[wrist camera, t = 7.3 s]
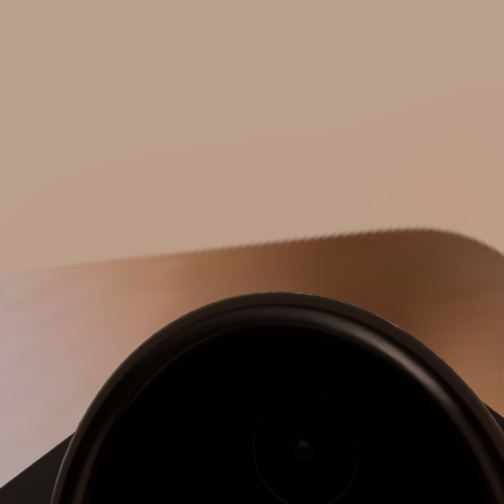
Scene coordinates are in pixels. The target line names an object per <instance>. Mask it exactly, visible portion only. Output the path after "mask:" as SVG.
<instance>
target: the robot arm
mask: <svg viewBox="0 0 504 504" xmlns="http://www.w3.org/2000/svg"><path fill="white" fill-rule="evenodd" d="M482 403H483V402H482ZM483 404H484V405H485V407H486V408H487V409H488V410H489V412H490V413H491V415H492V416H493V418H494V419H495V421H496V422H497V424H498V425H499V427H500V428H501V430H502V431H503V433H504V418H503V417H502V416H501V415H499V414H498V413H497V412H495V411H494V410H493V409H491V408H490V407H489V406H487V405H486V404H485V403H483ZM74 433H75V432H74ZM74 433H73V434H72V435H70V436H69V437H68V438H66V439H65V440H64V441H62V442H61V443H60V444H58V445H57V446H56V447H54V448H53V449H52V450H50V451H49V452H48V453H46V454H45V455H44V456H42V457H41V458H40V459H38V460H37V461H36V462H34V463H33V464H32V465H30V466H29V467H28V468H26V469H25V470H24V471H23V472H21V473H20V474H19V475H17V476H16V477H15V478H13V479H12V480H11V481H9V482H8V483H7V484H5V485H4V486H3V487H1V488H0V504H50V499H51V496H52V492H53V489H54V485H55V482H56V478H57V475H58V473H59V470H60V467H61V464H62V461H63V459H64V456H65V454H66V451H67V449H68V446H69V444H70V442H71V440H72V437H73V435H74Z"/></svg>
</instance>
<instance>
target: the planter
mask: <svg viewBox="0 0 504 504" xmlns="http://www.w3.org/2000/svg"><path fill="white" fill-rule="evenodd" d="M50 504H504V433H503V431H502V430H501V428H500V427H499V425H498V424H497V422H496V421H495V419H494V418H493V416H492V415H491V413H490V412H489V410H488V409H487V408H486V407H485V405H484V404H483V403H482V401H481V400H480V399H479V398H478V396H477V395H476V394H475V392H474V391H473V390H472V389H471V388H470V387H469V386H468V385H467V383H466V382H465V381H464V380H463V379H462V378H461V377H460V376H459V375H458V374H457V373H456V372H455V371H454V370H453V369H452V368H451V367H450V366H449V365H448V364H447V363H446V362H445V361H444V360H443V359H442V358H441V357H439V356H438V355H437V354H436V353H435V352H434V351H432V350H431V349H430V348H429V347H428V346H426V345H425V344H424V343H422V342H421V341H420V340H418V339H417V338H416V337H414V336H413V335H411V334H410V333H408V332H407V331H405V330H404V329H402V328H401V327H399V326H397V325H396V324H394V323H392V322H390V321H388V320H387V319H385V318H383V317H381V316H379V315H377V314H375V313H372V312H370V311H368V310H366V309H363V308H361V307H358V306H356V305H353V304H350V303H347V302H344V301H341V300H337V299H334V298H330V297H325V296H321V295H315V294H309V293H301V292H288V291H271V292H258V293H251V294H244V295H239V296H234V297H230V298H226V299H223V300H219V301H216V302H213V303H210V304H208V305H205V306H203V307H200V308H198V309H195V310H193V311H191V312H189V313H187V314H185V315H183V316H181V317H180V318H178V319H176V320H174V321H173V322H171V323H169V324H168V325H166V326H165V327H163V328H162V329H160V330H159V331H157V332H156V333H155V334H153V335H152V336H151V337H150V338H148V339H147V340H146V341H145V342H143V343H142V344H141V345H140V346H139V347H138V348H137V349H136V350H134V351H133V352H132V353H131V354H130V355H129V356H128V357H127V358H126V359H125V360H124V361H123V362H122V363H121V364H120V366H119V367H118V368H117V369H116V370H115V371H114V373H113V374H112V375H111V376H110V377H109V379H108V380H107V381H106V383H105V384H104V385H103V387H102V388H101V389H100V391H99V392H98V393H97V395H96V397H95V398H94V400H93V401H92V403H91V404H90V406H89V407H88V409H87V411H86V413H85V414H84V416H83V418H82V420H81V421H80V423H79V425H78V427H77V429H76V431H75V433H74V435H73V437H72V440H71V442H70V444H69V446H68V449H67V451H66V454H65V456H64V459H63V461H62V464H61V467H60V470H59V473H58V475H57V478H56V482H55V485H54V489H53V492H52V496H51V499H50Z"/></svg>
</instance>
